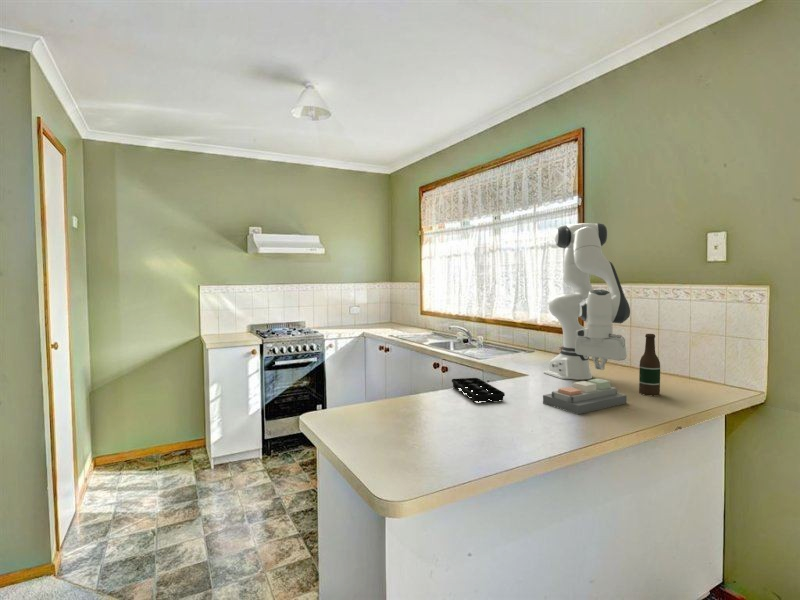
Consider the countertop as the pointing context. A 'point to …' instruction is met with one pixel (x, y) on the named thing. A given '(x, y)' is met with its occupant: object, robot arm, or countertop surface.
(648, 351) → the beer bottle
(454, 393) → the countertop surface
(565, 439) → the countertop surface
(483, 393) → the egg carton
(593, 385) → the cream key
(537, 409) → the countertop surface
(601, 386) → the sage key
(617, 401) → the keypad
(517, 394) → the countertop surface
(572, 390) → the terracotta key
